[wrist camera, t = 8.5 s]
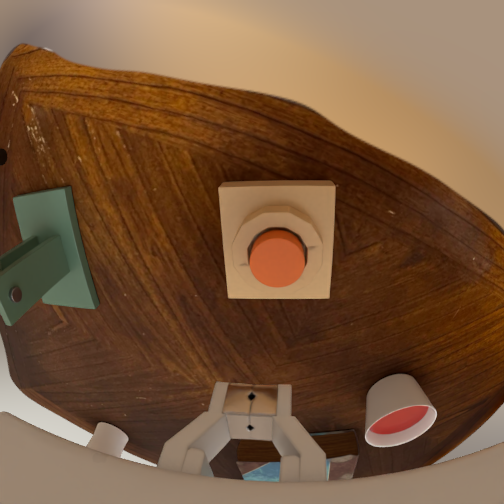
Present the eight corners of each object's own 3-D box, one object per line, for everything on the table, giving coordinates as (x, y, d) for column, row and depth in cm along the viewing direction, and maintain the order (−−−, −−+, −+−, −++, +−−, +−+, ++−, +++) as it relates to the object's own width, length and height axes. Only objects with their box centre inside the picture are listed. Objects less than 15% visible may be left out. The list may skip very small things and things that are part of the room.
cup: (136, 452, 48) (116, 505, 36) (89, 431, 48) (65, 480, 35) (140, 432, 44) (116, 494, 32) (87, 407, 43) (56, 464, 31)
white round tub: (361, 416, 37) (367, 453, 31) (354, 378, 33) (361, 419, 28) (421, 398, 35) (433, 433, 29) (423, 357, 31) (439, 395, 26)
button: (250, 229, 23) (247, 238, 22) (304, 229, 23) (305, 237, 21) (252, 276, 25) (250, 287, 23) (303, 276, 24) (304, 288, 23)
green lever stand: (19, 194, 28) (-55, 231, 17) (71, 185, 27) (-13, 226, 16) (48, 298, 34) (-5, 352, 23) (100, 304, 33) (46, 370, 22)
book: (344, 482, 47) (345, 502, 42) (258, 486, 49) (255, 506, 45) (356, 428, 38) (360, 455, 33) (238, 434, 40) (234, 461, 36)
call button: (223, 181, 26) (213, 192, 22) (331, 180, 25) (339, 191, 21) (231, 286, 30) (224, 309, 26) (326, 286, 29) (331, 310, 25)
